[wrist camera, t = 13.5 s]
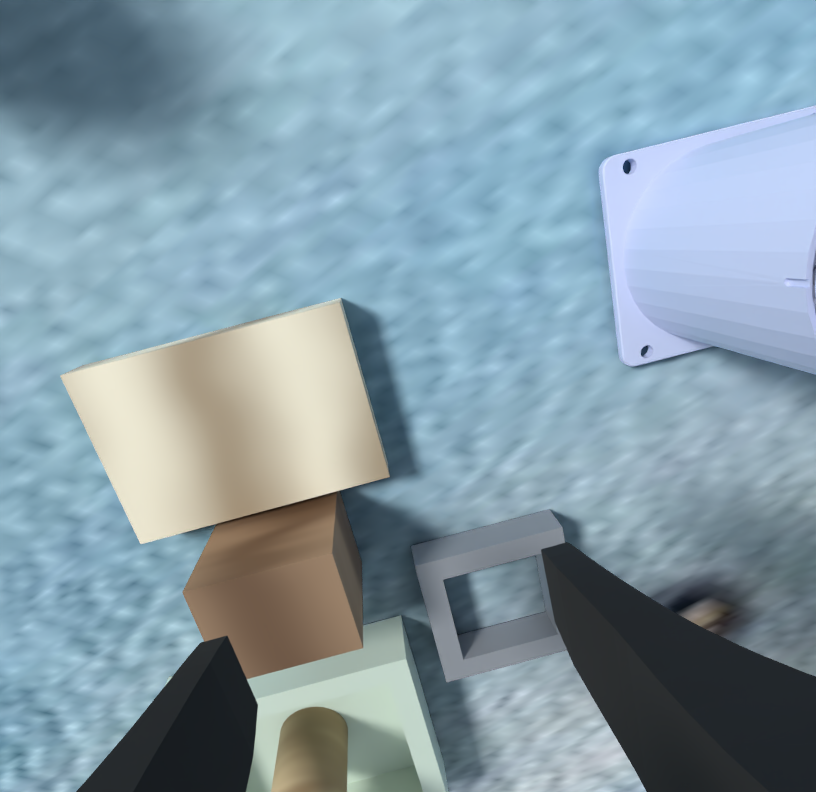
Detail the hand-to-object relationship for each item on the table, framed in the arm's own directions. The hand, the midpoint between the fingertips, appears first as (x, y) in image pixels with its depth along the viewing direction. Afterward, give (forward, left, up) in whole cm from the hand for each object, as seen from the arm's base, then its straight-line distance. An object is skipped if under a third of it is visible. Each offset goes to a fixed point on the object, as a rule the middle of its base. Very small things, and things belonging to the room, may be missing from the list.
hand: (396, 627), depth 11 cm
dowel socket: (-4, +8, -10) cm, 14 cm away
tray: (+6, +13, -10) cm, 18 cm away
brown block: (+4, +3, -10) cm, 12 cm away
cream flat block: (+5, -3, -11) cm, 12 cm away
